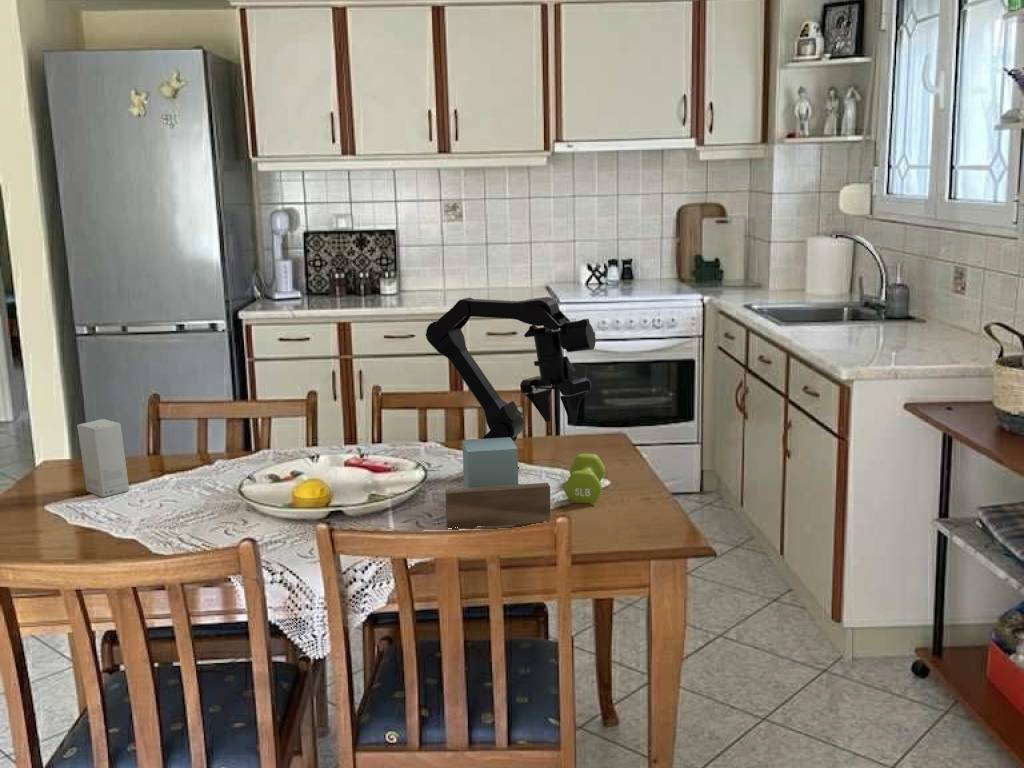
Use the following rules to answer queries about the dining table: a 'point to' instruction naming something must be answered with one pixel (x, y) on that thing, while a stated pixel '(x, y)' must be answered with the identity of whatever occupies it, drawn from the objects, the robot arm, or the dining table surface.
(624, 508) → the dining table surface
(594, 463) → the dumbbell
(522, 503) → the board
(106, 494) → the skincare box
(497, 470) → the block
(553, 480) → the dining table surface
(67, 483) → the dining table surface
